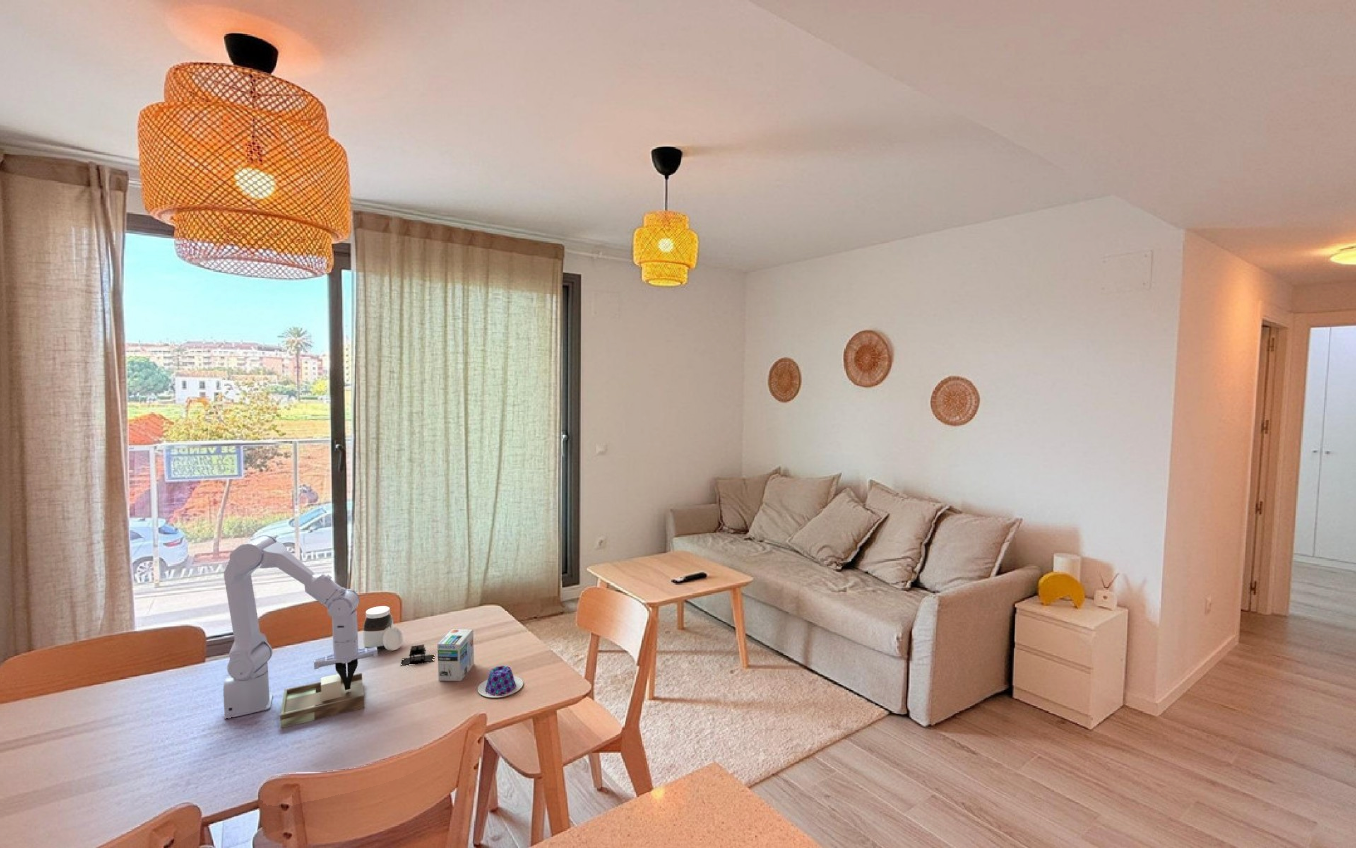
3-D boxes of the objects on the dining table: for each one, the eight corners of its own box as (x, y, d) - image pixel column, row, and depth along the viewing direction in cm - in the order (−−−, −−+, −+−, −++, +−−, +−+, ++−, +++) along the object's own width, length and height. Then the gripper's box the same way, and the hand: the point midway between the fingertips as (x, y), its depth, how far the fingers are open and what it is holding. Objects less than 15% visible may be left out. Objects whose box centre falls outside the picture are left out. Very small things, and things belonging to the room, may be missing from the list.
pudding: (490, 676, 171) (490, 658, 170) (530, 679, 169) (529, 661, 168) (469, 698, 159) (468, 679, 159) (511, 702, 157) (511, 683, 157)
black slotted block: (393, 670, 175) (393, 655, 174) (396, 659, 182) (396, 645, 181) (439, 664, 179) (438, 649, 178) (440, 653, 186) (440, 639, 185)
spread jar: (371, 640, 194) (369, 605, 193) (408, 637, 196) (407, 602, 195) (358, 656, 182) (357, 619, 181) (398, 653, 184) (396, 617, 183)
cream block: (321, 701, 153) (320, 685, 153) (322, 693, 157) (321, 677, 156) (341, 697, 155) (340, 680, 155) (341, 689, 159) (340, 673, 159)
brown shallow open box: (280, 728, 145) (280, 715, 144) (285, 701, 157) (284, 689, 157) (364, 708, 154) (363, 696, 153) (362, 684, 166) (361, 672, 165)
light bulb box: (461, 681, 167) (460, 644, 166) (437, 681, 167) (436, 644, 166) (474, 663, 178) (474, 628, 177) (452, 663, 178) (451, 628, 177)
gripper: (312, 650, 150) (315, 702, 151) (377, 637, 157) (379, 687, 158) (313, 639, 156) (315, 690, 157) (375, 628, 163) (377, 676, 164)
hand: (347, 688), depth 158 cm, fingers closed
